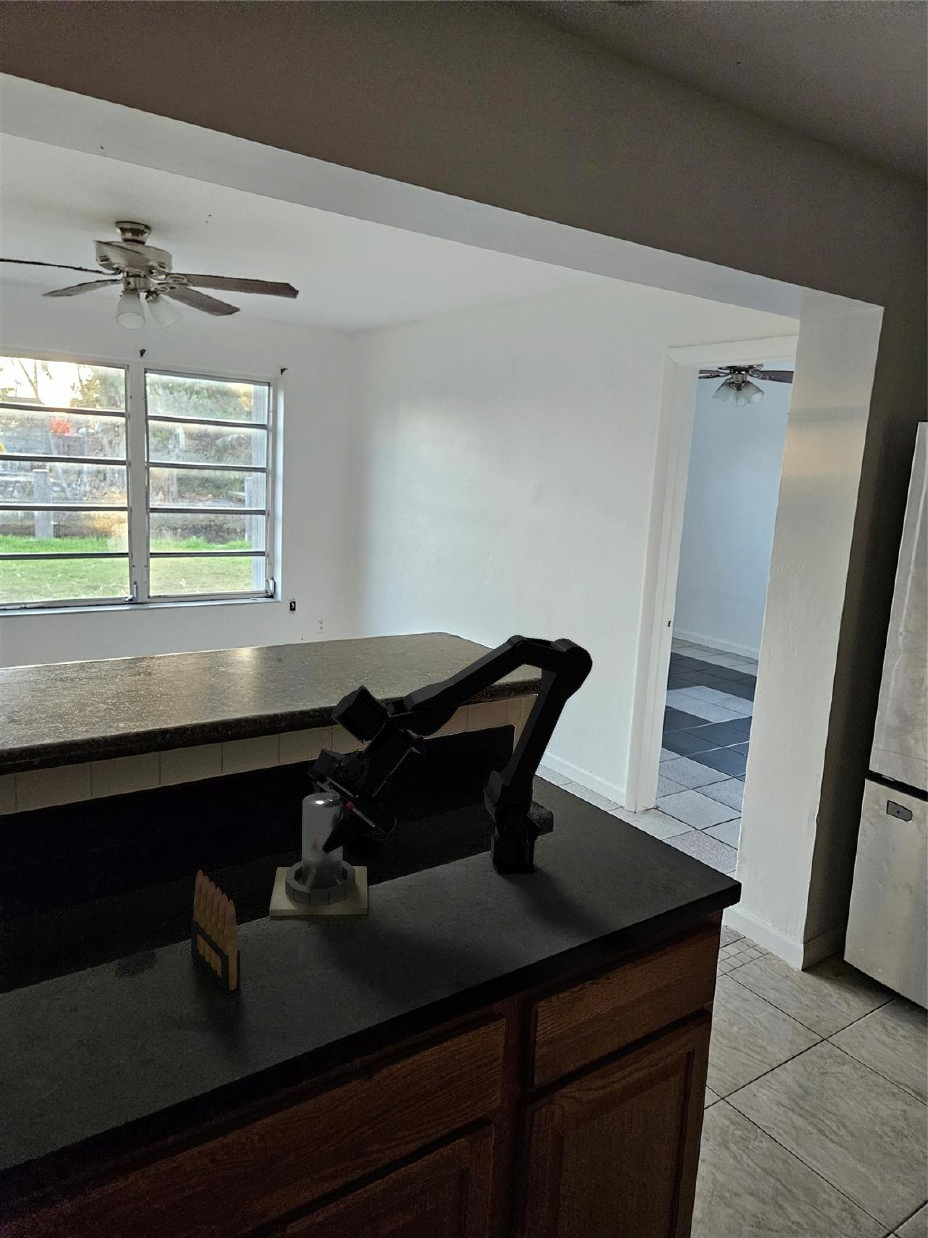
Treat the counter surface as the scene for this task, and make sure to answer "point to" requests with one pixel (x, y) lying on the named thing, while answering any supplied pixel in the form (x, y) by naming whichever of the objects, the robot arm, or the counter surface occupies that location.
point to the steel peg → (321, 841)
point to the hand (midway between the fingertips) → (314, 843)
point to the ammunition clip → (215, 934)
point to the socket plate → (319, 893)
